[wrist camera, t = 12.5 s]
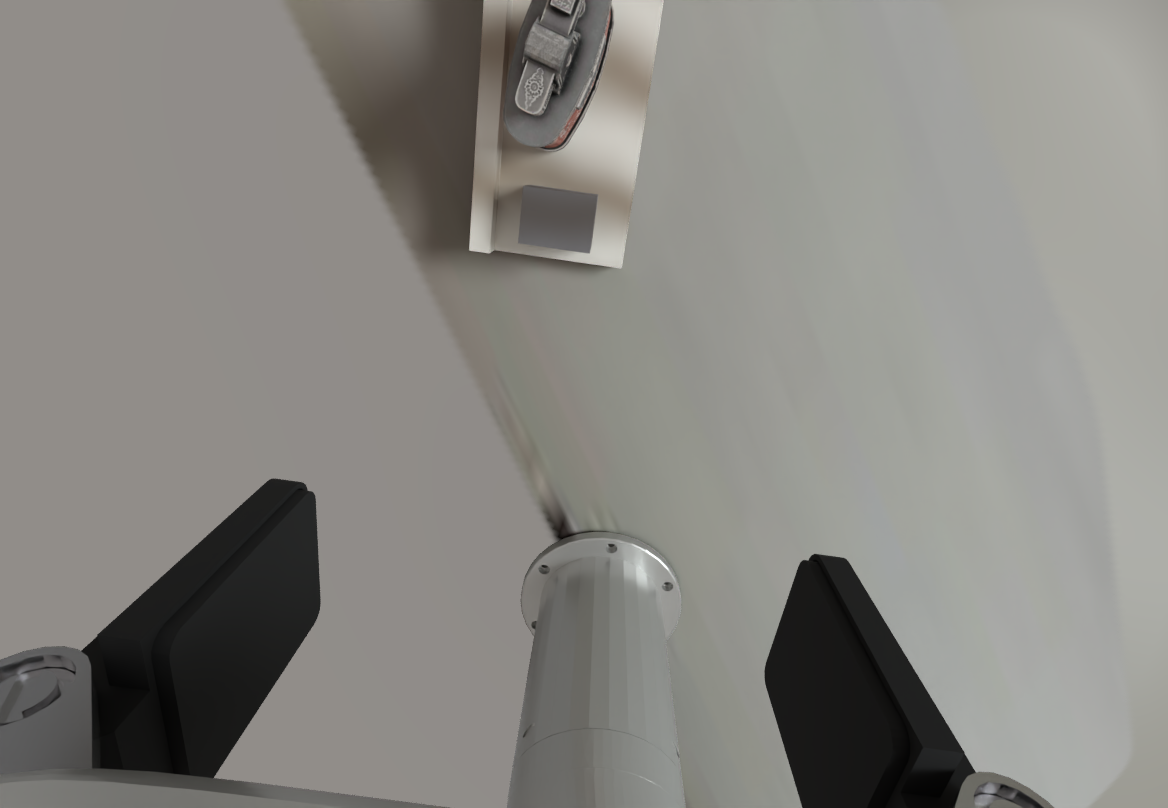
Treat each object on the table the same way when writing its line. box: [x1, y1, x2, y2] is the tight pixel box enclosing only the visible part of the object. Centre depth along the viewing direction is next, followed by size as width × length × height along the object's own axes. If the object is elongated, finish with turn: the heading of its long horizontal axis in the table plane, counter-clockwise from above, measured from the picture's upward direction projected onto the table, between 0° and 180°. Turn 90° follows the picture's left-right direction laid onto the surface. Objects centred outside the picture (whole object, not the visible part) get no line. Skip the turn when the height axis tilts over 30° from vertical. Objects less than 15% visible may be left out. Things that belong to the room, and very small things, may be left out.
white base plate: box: [469, 0, 664, 268], centre depth 31 cm, size 20×9×4 cm, turn 172°
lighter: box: [503, 0, 614, 152], centre depth 27 cm, size 8×3×10 cm, turn 157°
